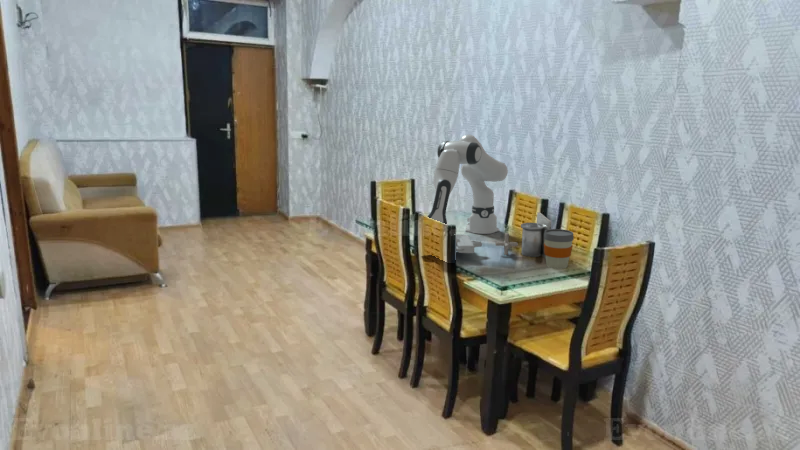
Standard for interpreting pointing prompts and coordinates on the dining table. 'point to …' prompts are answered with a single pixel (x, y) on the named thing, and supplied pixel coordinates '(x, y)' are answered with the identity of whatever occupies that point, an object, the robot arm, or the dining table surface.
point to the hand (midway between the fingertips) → (481, 243)
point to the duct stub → (535, 236)
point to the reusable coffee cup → (558, 247)
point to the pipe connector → (506, 244)
